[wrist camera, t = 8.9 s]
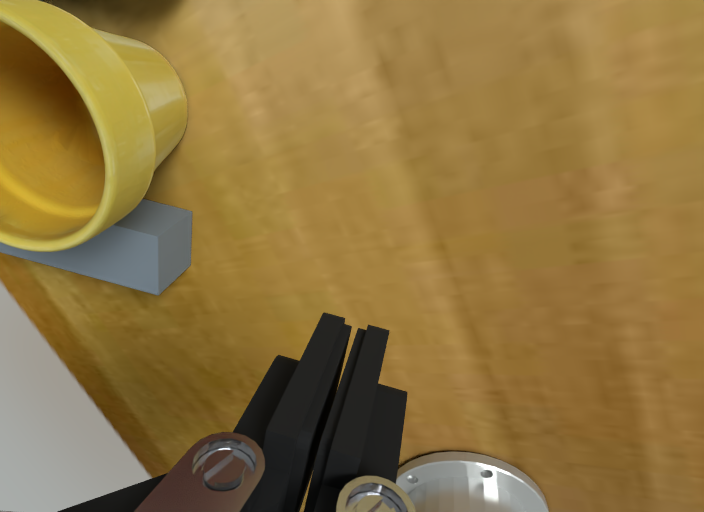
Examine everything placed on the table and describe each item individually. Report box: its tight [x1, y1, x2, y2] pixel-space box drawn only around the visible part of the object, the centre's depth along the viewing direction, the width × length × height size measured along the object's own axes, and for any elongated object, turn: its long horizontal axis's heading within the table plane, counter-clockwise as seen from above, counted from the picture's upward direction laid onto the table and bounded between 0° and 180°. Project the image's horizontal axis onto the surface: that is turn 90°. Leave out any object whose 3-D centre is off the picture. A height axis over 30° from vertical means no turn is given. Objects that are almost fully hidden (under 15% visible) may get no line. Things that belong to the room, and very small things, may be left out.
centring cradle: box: [0, 0, 192, 295], centre depth 26 cm, size 21×12×4 cm, turn 169°
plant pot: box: [0, 0, 188, 252], centre depth 23 cm, size 10×10×10 cm
